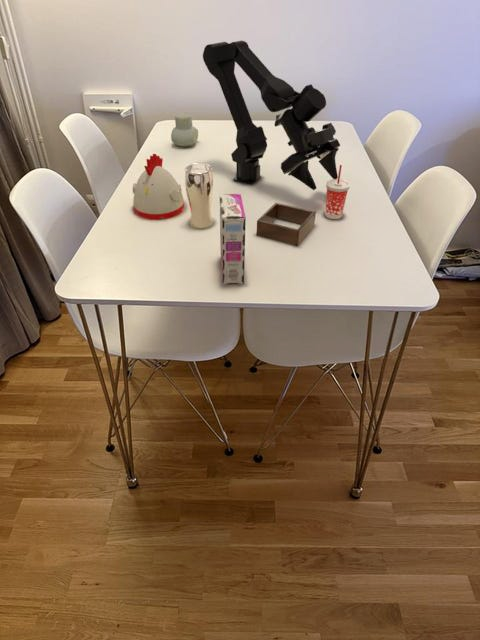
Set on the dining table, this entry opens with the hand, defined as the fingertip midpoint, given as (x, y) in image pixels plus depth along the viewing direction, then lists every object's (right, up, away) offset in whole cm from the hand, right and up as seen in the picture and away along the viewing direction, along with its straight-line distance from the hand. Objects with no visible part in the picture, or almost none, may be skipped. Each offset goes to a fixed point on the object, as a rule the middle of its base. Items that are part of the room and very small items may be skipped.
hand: (325, 184), depth 123 cm
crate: (-11, -13, -3) cm, 18 cm away
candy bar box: (-25, -25, -17) cm, 39 cm away
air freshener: (-43, +28, +45) cm, 68 cm away
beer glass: (-33, -11, 0) cm, 35 cm away
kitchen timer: (-46, -5, +6) cm, 46 cm away
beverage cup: (+3, -8, +3) cm, 9 cm away
